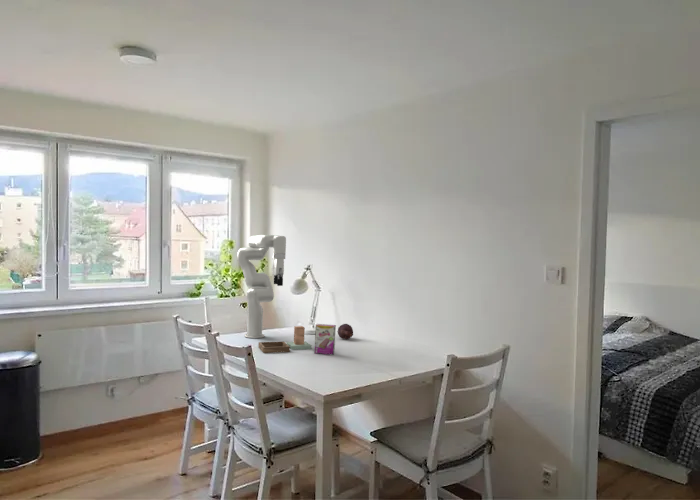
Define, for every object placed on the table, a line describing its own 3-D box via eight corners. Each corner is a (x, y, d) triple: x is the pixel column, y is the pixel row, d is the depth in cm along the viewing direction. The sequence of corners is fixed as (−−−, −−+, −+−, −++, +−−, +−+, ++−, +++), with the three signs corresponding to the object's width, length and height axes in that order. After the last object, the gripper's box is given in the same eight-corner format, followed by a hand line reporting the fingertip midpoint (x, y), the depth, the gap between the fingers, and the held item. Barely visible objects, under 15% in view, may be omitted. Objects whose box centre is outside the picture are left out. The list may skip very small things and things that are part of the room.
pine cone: (333, 336, 349) (334, 321, 348) (347, 336, 352) (348, 321, 352) (342, 341, 332) (342, 326, 332) (356, 341, 335) (357, 325, 335)
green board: (286, 345, 315) (286, 342, 315) (305, 344, 319) (305, 341, 319) (291, 349, 304) (291, 346, 304) (311, 348, 308) (311, 345, 308)
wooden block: (293, 343, 313) (294, 326, 313) (301, 342, 315) (302, 326, 315) (295, 344, 308) (296, 327, 308) (304, 344, 310) (304, 327, 310)
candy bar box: (314, 353, 295) (315, 324, 295) (315, 351, 300) (316, 323, 300) (333, 355, 294) (334, 325, 294) (334, 353, 299) (335, 324, 299)
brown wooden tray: (258, 347, 307) (258, 342, 307) (283, 346, 312) (283, 341, 312) (263, 353, 293) (263, 347, 293) (289, 351, 298) (289, 346, 298)
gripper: (269, 255, 320) (269, 283, 321) (276, 256, 304) (275, 286, 305) (282, 255, 323) (281, 283, 323) (288, 257, 307) (287, 286, 307)
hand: (278, 284), depth 314 cm, fingers open, 9 cm apart
